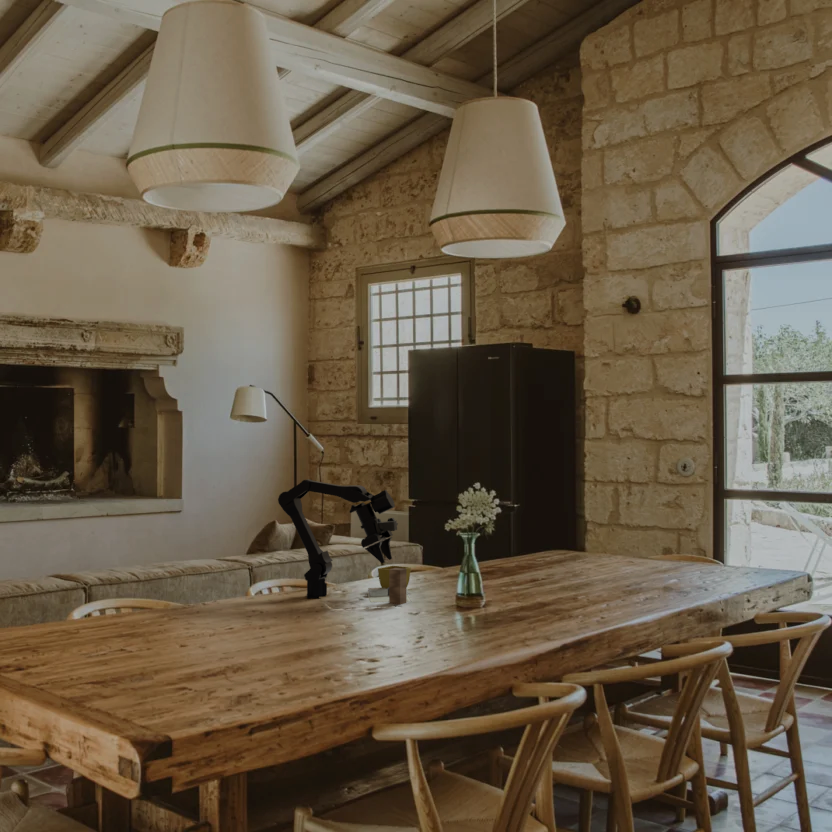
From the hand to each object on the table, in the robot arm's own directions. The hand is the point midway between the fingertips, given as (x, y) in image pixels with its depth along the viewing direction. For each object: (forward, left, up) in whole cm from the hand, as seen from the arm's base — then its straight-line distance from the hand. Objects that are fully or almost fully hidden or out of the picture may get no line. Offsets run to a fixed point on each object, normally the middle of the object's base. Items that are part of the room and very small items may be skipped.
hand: (387, 561), depth 345 cm
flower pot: (+4, +15, -14) cm, 21 cm away
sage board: (+1, +1, -13) cm, 13 cm away
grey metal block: (-3, +5, -13) cm, 14 cm away
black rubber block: (+3, +6, -13) cm, 15 cm away
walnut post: (+3, -10, -13) cm, 17 cm away
